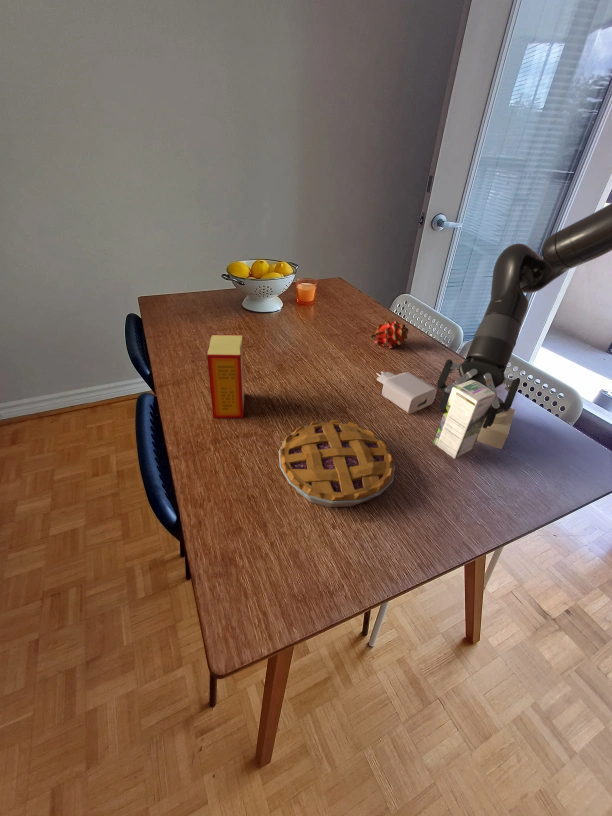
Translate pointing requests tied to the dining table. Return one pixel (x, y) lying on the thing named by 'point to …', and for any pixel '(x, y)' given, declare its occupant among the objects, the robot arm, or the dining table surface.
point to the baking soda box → (226, 375)
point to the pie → (336, 463)
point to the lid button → (499, 402)
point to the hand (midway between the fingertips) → (462, 419)
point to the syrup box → (463, 418)
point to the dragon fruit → (390, 334)
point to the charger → (406, 391)
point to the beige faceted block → (497, 430)
